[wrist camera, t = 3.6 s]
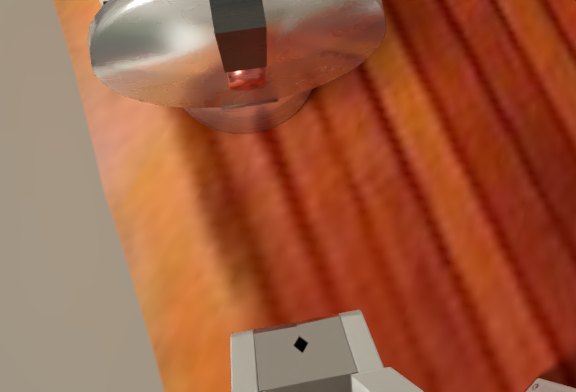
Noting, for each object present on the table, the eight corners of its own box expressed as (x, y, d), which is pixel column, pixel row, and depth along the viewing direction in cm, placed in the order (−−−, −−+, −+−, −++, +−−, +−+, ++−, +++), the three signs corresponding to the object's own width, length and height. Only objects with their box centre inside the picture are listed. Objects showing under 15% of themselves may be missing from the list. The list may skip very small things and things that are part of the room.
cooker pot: (329, -9, 43) (341, -89, 35) (358, 117, 40) (380, 63, 31) (133, 17, 42) (95, -59, 34) (145, 149, 39) (107, 103, 30)
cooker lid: (428, -74, 16) (441, -11, 16) (349, 77, 32) (355, 110, 31) (16, -23, 15) (24, 45, 15) (143, 107, 31) (148, 141, 30)
